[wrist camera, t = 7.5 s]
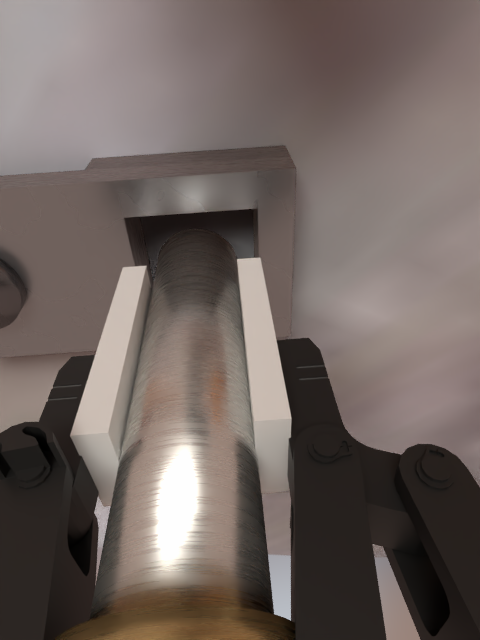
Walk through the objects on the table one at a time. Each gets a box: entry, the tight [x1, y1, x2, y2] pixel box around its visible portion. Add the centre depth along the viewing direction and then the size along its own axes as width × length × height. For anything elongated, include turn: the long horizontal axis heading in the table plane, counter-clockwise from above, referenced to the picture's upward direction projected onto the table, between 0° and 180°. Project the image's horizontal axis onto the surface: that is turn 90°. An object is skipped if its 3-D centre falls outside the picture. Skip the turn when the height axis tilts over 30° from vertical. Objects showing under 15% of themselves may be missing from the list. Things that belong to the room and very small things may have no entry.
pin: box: [54, 229, 295, 640], centre depth 11 cm, size 4×4×13 cm
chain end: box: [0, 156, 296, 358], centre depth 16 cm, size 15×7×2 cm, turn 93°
